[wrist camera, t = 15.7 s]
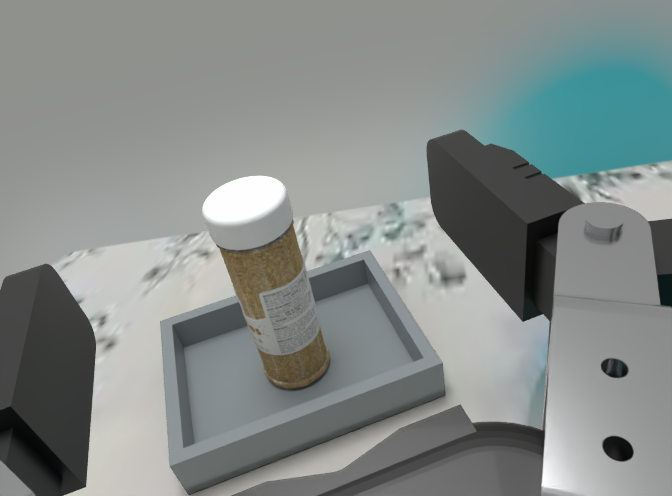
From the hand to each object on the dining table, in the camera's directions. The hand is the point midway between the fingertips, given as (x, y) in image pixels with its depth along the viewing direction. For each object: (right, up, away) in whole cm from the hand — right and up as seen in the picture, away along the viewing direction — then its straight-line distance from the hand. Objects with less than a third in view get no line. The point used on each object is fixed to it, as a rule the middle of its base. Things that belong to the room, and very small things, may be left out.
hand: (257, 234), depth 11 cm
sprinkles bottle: (-1, -8, +25) cm, 26 cm away
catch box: (-1, -9, +25) cm, 26 cm away
